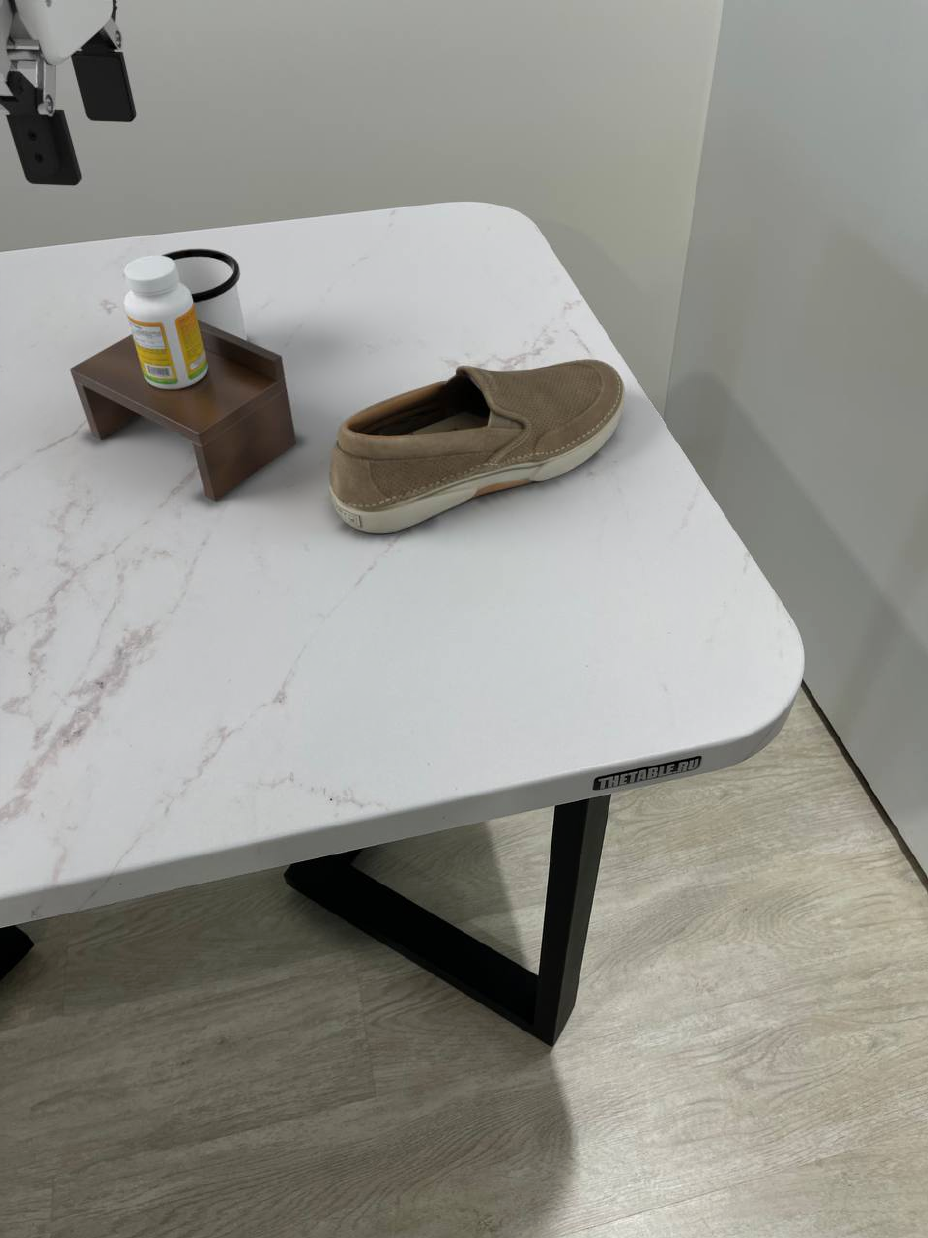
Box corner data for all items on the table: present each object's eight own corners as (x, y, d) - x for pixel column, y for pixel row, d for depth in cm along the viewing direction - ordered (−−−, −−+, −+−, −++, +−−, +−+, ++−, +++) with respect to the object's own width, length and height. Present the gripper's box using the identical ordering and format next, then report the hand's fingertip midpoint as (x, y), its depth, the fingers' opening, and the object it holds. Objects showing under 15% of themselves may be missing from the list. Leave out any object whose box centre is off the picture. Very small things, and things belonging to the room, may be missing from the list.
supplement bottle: (198, 350, 89) (174, 244, 82) (216, 381, 86) (192, 273, 79) (137, 365, 88) (107, 259, 80) (153, 397, 84) (123, 290, 77)
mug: (262, 372, 99) (247, 287, 92) (165, 391, 97) (142, 305, 90) (241, 312, 107) (226, 229, 100) (151, 328, 105) (129, 244, 98)
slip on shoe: (585, 378, 98) (592, 293, 91) (658, 438, 91) (671, 351, 85) (306, 480, 88) (291, 392, 81) (364, 556, 81) (354, 467, 74)
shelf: (215, 501, 86) (193, 413, 79) (92, 435, 92) (62, 348, 86) (296, 442, 91) (281, 355, 85) (174, 384, 98) (152, 299, 91)
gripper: (-8, -231, 56) (77, 97, 69) (-175, -177, 44) (-35, 208, 57) (122, -230, 56) (185, 100, 68) (-11, -175, 44) (94, 213, 56)
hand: (85, 149), depth 62 cm, fingers open, 9 cm apart
